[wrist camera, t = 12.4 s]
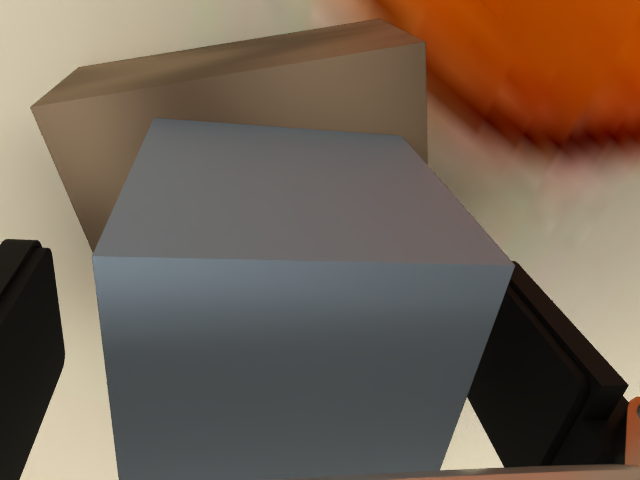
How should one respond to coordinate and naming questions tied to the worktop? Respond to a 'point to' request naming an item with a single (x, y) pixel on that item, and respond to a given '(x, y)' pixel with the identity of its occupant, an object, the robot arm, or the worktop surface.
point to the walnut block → (231, 100)
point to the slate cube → (288, 305)
